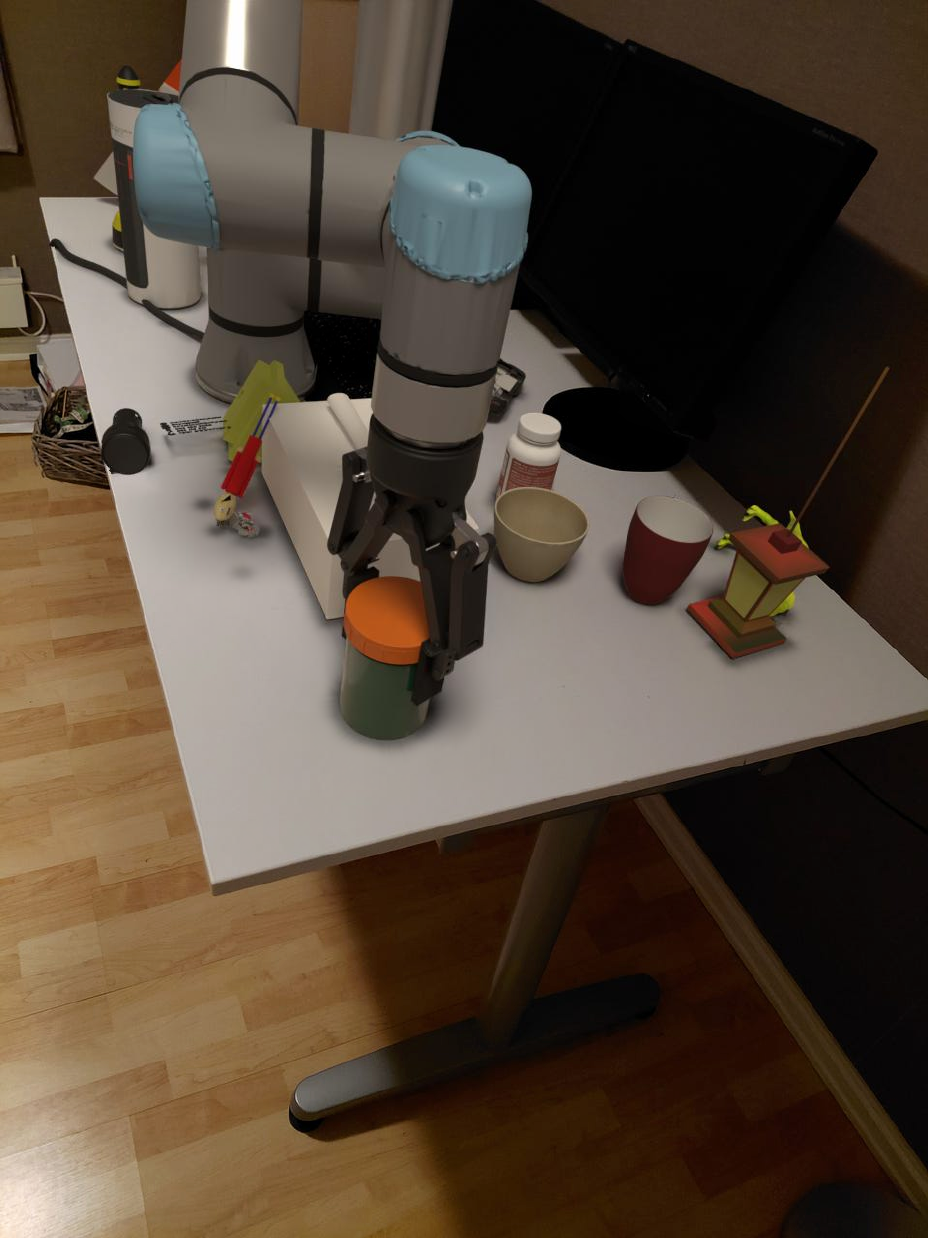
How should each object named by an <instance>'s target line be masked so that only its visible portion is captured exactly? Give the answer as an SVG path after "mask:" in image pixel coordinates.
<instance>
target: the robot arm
mask: <svg viewBox="0 0 928 1238" xmlns="http://www.w3.org/2000/svg"><path fill="white" fill-rule="evenodd" d="M303 1H304V0H186V7H185V19H184V30H183V41H182V53H181V59H182V62H181V74H180V85H179V96H178V104H176V103H170V104H168V105H159V104H149V105H145V106H144V107H142V108H141V111H140V113H139V114H138V117H137V118H136V121H135V127H134V138H133V168H134V182H135V192H136V198H137V204H138V209H139V213H140V216H141V219H142V221H143V223H144V225H145V226H146V228H147V229H148V230H149V231H150V232H151V233H152V234H153V235H155V236H157V237H159V238H163V239H167V240H172V241H176V242H182V243H187V244H192V245H197V246H198V247H203V248H206V271H207V272H206V273H207V303H208V304H207V305H208V306H207V307H208V320H207V324H206V326H205V330H204V331H201V330H200V329H197V328H194V327H192V326H190V325H188V324H186V323H184V322H182V321H181V320H179V319H177V318H175V317H173V316H171V315H170V314H168V313H167V312H165V311H163V309H159V308H157V307H156V306H155V305H153V304H152V303H151V302H150V301H148V300H146V299H143V300H142V303H143V304H144V305H143V306H144V307H145V308H146V309H148V310H149V311H150V312H151V313H152V314H154V315H155V316H156V317H158V318H160V319H161V320H163V321H164V322H167V323H168V324H169V325H172V326H173V327H175V328H177V329H179V330H180V331H183V332H184V333H187V334H189V335H190V336H191V335H192V336H193V337H196V338H198V339H200V340H201V343H200V346H199V349H198V353H197V355H196V358H195V359H196V360H195V378H196V381H197V384H198V385H199V387H200V388H201V389H202V390H203V391H205V392H206V393H207V394H209V395H210V396H212V397H214V398H216V399H218V400H220V401H223V402H224V403H225V402H226V403H228V404H232V403H233V401H234V399H235V398H236V396H237V394H238V393H239V391H240V390H241V388H242V386H243V385H244V383H245V381H246V380H247V378H248V376H249V375H250V373H251V372H252V370H253V368H254V367H255V365H256V363H257V362H258V360H261V361H263V362H264V363H266V364H268V365H270V364H271V363H272V361H274V360H276V361H278V362H280V363H282V364H283V367H284V376H285V378H286V380H287V382H288V383H289V385H290V386H291V388H292V390H293V391H294V393H295V394H296V396H297V398H298V399H299V401H300V402H303V401H304V400H306V399H307V398H309V396H310V395H311V394H312V393H313V392H314V390H315V388H316V380H317V379H316V378H317V371H318V365H316V366H315V362H314V358H313V355H312V351H311V348H310V344H309V340H308V338H307V333H306V330H305V312H315V313H323V314H332V315H341V316H349V317H357V318H368V319H376V320H379V321H380V331H379V338H378V345H377V352H376V358H375V367H374V368H375V369H374V376H373V385H372V392H371V398H372V400H371V408H372V411H373V414H372V415H371V418H370V425H369V434H368V444H367V447H364V448H361V449H358V450H355V451H352V452H349V453H346V454H343V456H342V474H343V481H342V485H341V489H340V493H339V497H338V501H337V505H336V509H335V513H334V517H333V521H332V525H331V529H330V533H329V538H328V542H327V548H328V551H329V552H330V553H331V554H332V555H336V554H338V556H339V557H340V559H341V562H340V564H341V568H342V570H343V571H344V579H343V582H344V583H343V589H342V593H343V598H345V607H344V614H345V609H346V602H347V599H348V597H349V595H350V593H351V592H352V591H353V590H354V589H355V588H356V587H357V586H358V585H360V584H362V583H364V582H366V581H368V580H371V579H374V578H378V577H379V570H378V569H377V568H375V567H374V566H372V567H370V568H368V565H369V564H371V563H373V562H376V561H378V560H380V559H379V558H378V559H376V557H378V554H379V553H380V551H381V550H382V549H383V547H384V546H385V544H386V543H387V542H388V540H389V539H390V537H391V536H392V535H393V533H395V534H397V535H399V536H401V537H402V538H403V539H404V541H405V542H406V543H407V544H408V545H409V550H410V556H411V561H412V564H413V565H415V566H417V567H418V570H419V576H420V582H421V588H422V594H423V600H424V606H425V612H426V618H427V624H428V630H429V636H430V638H429V639H427V640H425V641H423V642H422V643H421V648H420V653H419V659H418V664H417V670H416V675H415V680H414V686H413V691H412V696H411V701H412V702H413V703H414V704H415V705H416V706H418V705H420V704H422V703H423V702H425V701H427V700H429V699H430V700H431V699H432V698H434V697H435V696H438V695H439V694H440V693H442V692H443V687H444V682H445V680H446V679H445V678H446V676H449V675H450V674H452V672H453V671H454V670H455V669H454V668H455V665H456V662H458V661H460V660H462V659H464V658H466V657H467V656H470V655H471V654H472V653H474V652H476V651H478V650H479V649H481V648H483V647H484V644H485V643H484V640H485V624H486V611H487V595H488V594H487V593H488V579H489V564H490V561H491V559H492V557H493V555H494V552H495V550H496V548H497V543H496V539H495V535H494V534H493V533H491V532H485V533H483V534H481V535H480V534H479V533H477V532H476V531H475V530H474V529H473V528H472V527H471V526H470V525H469V524H468V523H467V522H466V520H467V514H466V510H467V508H466V496H467V495H468V492H469V491H470V490H471V487H472V485H473V483H474V481H475V480H476V476H477V472H478V469H479V463H480V458H481V454H482V448H483V445H484V444H483V443H484V438H485V437H484V430H485V428H486V426H487V421H488V418H489V413H490V412H489V408H490V403H491V398H492V393H493V388H494V383H495V378H496V373H497V369H498V364H499V360H500V358H501V355H502V349H503V345H504V341H505V336H506V332H507V326H508V322H509V317H510V313H511V308H512V305H513V299H514V298H513V297H514V295H515V289H516V284H517V279H518V275H519V270H520V266H521V262H522V260H523V258H524V254H525V253H526V251H527V249H528V248H527V247H528V243H529V241H528V240H529V233H528V232H527V231H528V223H529V217H530V216H529V215H530V209H531V203H532V197H533V189H532V185H531V182H530V179H529V178H528V176H527V174H526V173H525V172H524V171H523V170H522V169H521V167H519V166H517V165H515V164H513V163H509V162H508V161H507V160H506V159H505V158H503V157H501V156H498V155H496V154H494V153H491V152H486V151H483V150H479V149H474V148H471V147H465V146H461V145H460V144H458V142H456V141H455V140H454V139H453V138H451V137H449V136H447V135H445V134H443V133H440V132H437V131H433V130H432V128H433V122H434V116H435V112H436V111H435V110H436V105H437V99H438V93H439V87H440V81H441V75H442V69H443V62H444V56H445V51H446V45H447V39H448V33H449V32H448V31H449V27H450V21H451V15H452V9H453V2H454V0H359V2H358V13H357V25H356V26H357V27H356V38H355V39H356V40H355V51H354V63H353V73H352V74H353V76H352V86H351V98H350V99H351V100H350V109H349V110H350V111H349V120H348V122H349V123H348V133H346V132H339V131H333V130H332V131H331V130H325V129H322V128H315V127H309V126H302V125H299V115H300V114H299V113H300V112H299V110H300V86H301V84H300V83H301V61H302V60H301V57H302V56H301V55H302V29H303V6H304V5H303V4H304V2H303ZM48 246H49V247H51V248H56V247H57V249H58V250H59V252H60V253H61V254H62V255H63V256H64V258H66V259H68V260H69V261H72V262H74V263H76V264H78V265H81V266H84V267H86V268H89V269H91V270H95V271H97V272H99V273H101V274H103V275H105V276H107V277H108V278H110V279H112V280H115V281H117V282H118V283H120V284H122V286H124V287H126V288H127V279H126V277H124V276H123V275H122V274H119V273H117V272H116V271H114V270H111V269H110V268H107V267H106V266H104V265H101V264H98V263H96V262H93V261H91V260H88V259H85V258H83V257H80V256H78V255H76V254H74V253H72V252H70V251H69V250H68V249H67V248H66V247H65V245H64V243H63V242H62V241H61V239H58V238H52V239H51V240H50V241H49V243H48ZM374 492H375V494H376V498H375V499H374V504H373V506H372V507H371V509H370V506H371V502H372V499H373V495H374ZM369 509H370V510H369ZM439 543H440V544H439ZM436 544H439V545H438V546H436V547H433V548H431V549H429V550H427V551H426V549H427V548H430V547H432V546H434V545H436ZM343 622H344V617H342V623H343ZM341 629H342V630H341V637H342V638H343V639H344V640H345V641H346V637H347V635H346V633H345V629H344V627H343V626H342V627H341ZM430 700H429V701H430Z"/></svg>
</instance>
